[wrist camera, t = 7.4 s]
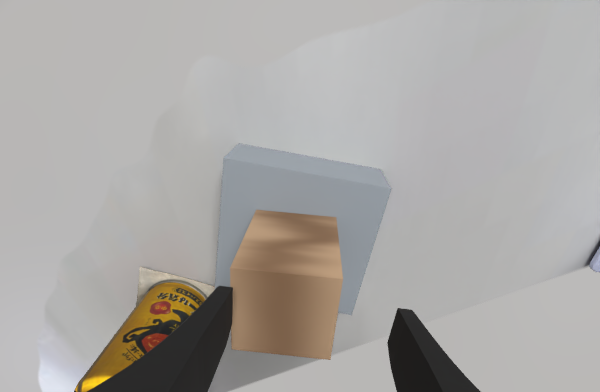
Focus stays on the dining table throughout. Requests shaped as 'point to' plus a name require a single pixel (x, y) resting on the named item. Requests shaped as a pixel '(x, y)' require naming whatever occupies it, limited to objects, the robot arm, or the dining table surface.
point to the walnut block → (287, 285)
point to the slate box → (302, 205)
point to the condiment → (147, 322)
